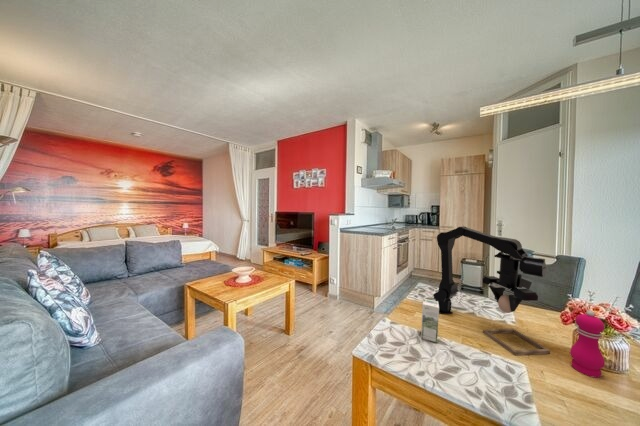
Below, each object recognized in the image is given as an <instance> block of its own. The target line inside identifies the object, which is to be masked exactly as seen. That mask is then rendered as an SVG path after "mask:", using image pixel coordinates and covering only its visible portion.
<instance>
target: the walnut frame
mask: <svg viewBox="0 0 640 426" xmlns="http://www.w3.org/2000/svg"><path fill="white" fill-rule="evenodd" d="M482 333H483V334H484V335H486V336H487V337H488V338H490V339H491V340H492V341H493V342H495V343H496V344H498V345H499V346H501V347H502V348H504V349H505V350H506V351H508V352H509V353H510V354H512V355H513V356H514V357H515V356H534V355H551V350H550V349H548V348H547V347H545V346H544V345H542V344H540V343H538V342H536V341H534V340H533V339H531V338H530V337H529V336H526V335H524V334H523V333H522V332H520V331H518V330H516V329H514V328H500V329H499V328H498V329H497V328H496V329H493V328H491V329H482ZM494 334H515V335H516V336H517V337H519V338H521V339H522V340H523V341H526V342H527V343H528V344H531V345H532V346H534V347H535V349H517V350H516V349H514V348H512V347H511V346H509V345H508V344H506V343H505V342H504V341H502V340H501V339H499V338H498V337H496V336H495V335H494ZM536 348H537V349H536Z"/></svg>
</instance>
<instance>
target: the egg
mask: <svg viewBox="0 0 640 426" xmlns="http://www.w3.org/2000/svg"><path fill="white" fill-rule="evenodd" d="M509 295H510V294H507V293H506V294H503V295H502V296H501V297H500V298H499V300H498V302H497V305H498V307H499V309H500V311H502V312H504V313H506V314H511V313H513V312H512V311H511V308H510V302H509Z"/></svg>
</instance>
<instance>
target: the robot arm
mask: <svg viewBox="0 0 640 426" xmlns="http://www.w3.org/2000/svg"><path fill="white" fill-rule="evenodd" d="M461 237H465V238H469V239H471V240H474V241H478V242H481V243H483V244H486V245H488V246H491V247H492V248H494V249H495V250H497V251H499V252H498V253H496V254H494V256H493V257H494V258H498V259H500V260H499V270H496V274H498V275H499V277H497V276H494V275H493V276H492V275H490V276H488V275H487V276H486V275H485V276H484V277H483V278H482V283H483V284H485V285H488V288H489V289H490V290H491V292H492V294H493V296H494V298H495V300H496V303H498V300H499V298H500V297H501V296H502V295H504V292H505V290H508V291H510V292H512V293H513V294H508V295H509V302H510V308H511V311H512V312H511V313H515V311H516V310H517V308H518V307H519V305H520V304H521V302H523V301H524V302H525V301H527V302H529V301H532V302H533V301H538V300H539V295H538V293H537V292H535V291H533V290H530V289H531V286H532V283H533V282H532V281H530V280H528V279H527V280H526V279H524V278H522V277H523V276H522V274H525V275H528V276H534V277H537V278H545V277H546V274H547V271H548V270H547V264H546V259H545V258H540V257H538V258H537V257H531V256H529V254H527V253H526V251H525V249H523V246H522V243H521V241H520V240H518V239H516V238H509V237H503V236H494V235H491V234H488V233H486V232H482V231H478V230H476V229H472V228H469V227H467V226H464V225H463V226H458V227H456V228H454V229H452V230H449V231H445V232H440V233H438V234H437V235H436V242H437V246H438V248H439V249H440V264H441V265H440V266H441V280H440V283H439V286H438V291H437V292H435V293H433V294H432V295H433V299H434V301H438V304H439V314H443V315H446V314H453V311H452V299H453V298H454V297H455V296H456V295H457V293H458V292H459V289H458V286H459V284H458V282H457V283H455V281H454V277H453V248H454V246H455V244H456V243H455V242H456V239H459V238H461ZM519 270H520V272H522V274H520V273H519Z"/></svg>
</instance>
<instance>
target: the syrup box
mask: <svg viewBox="0 0 640 426" xmlns="http://www.w3.org/2000/svg"><path fill="white" fill-rule="evenodd" d="M421 313H422V314H421V331H420V333H421V335H420V337H421V340H424V341H428V342H433V343H436V344H437V343H438V333H439V317H440V313H439V304H438V301H435V300H431V299H426V298H422V311H421Z"/></svg>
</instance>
